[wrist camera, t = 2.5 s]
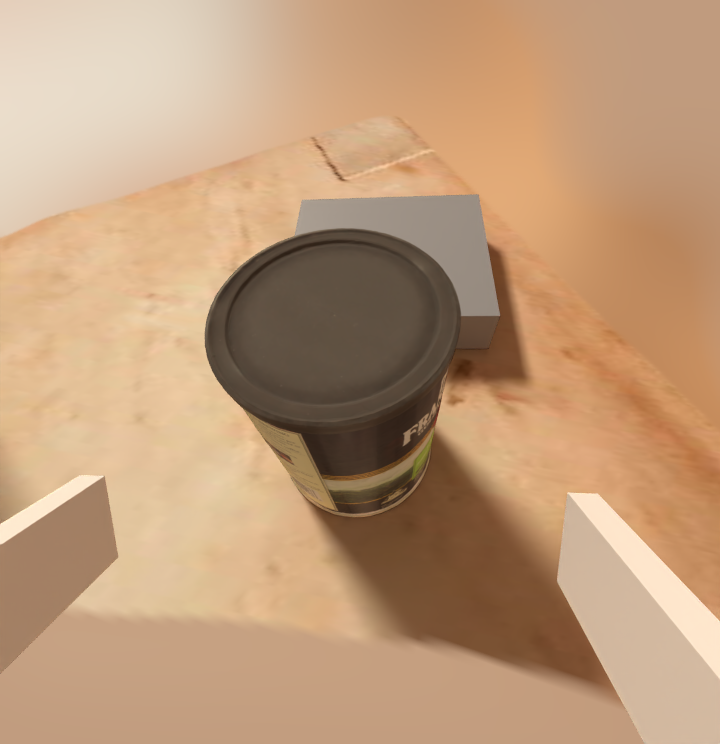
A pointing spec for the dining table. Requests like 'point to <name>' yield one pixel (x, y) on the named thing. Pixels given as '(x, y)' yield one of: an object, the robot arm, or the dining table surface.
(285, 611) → the dining table surface
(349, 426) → the coffee can
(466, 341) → the riser
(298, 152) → the dining table surface
